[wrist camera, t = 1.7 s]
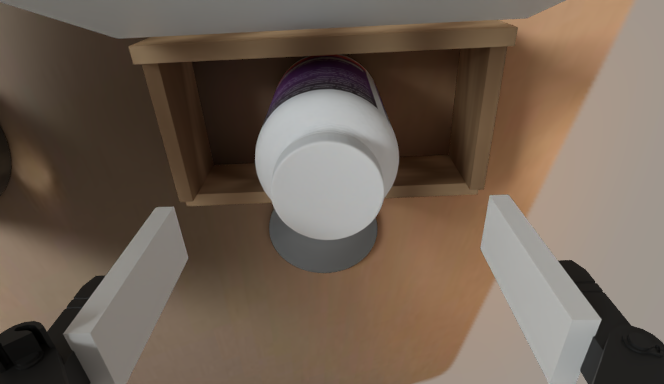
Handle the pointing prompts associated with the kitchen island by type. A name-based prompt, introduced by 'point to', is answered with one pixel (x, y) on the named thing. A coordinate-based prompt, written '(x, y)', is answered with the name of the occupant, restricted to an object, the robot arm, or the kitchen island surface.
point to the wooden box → (469, 36)
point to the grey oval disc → (321, 247)
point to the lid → (267, 14)
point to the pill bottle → (327, 148)
